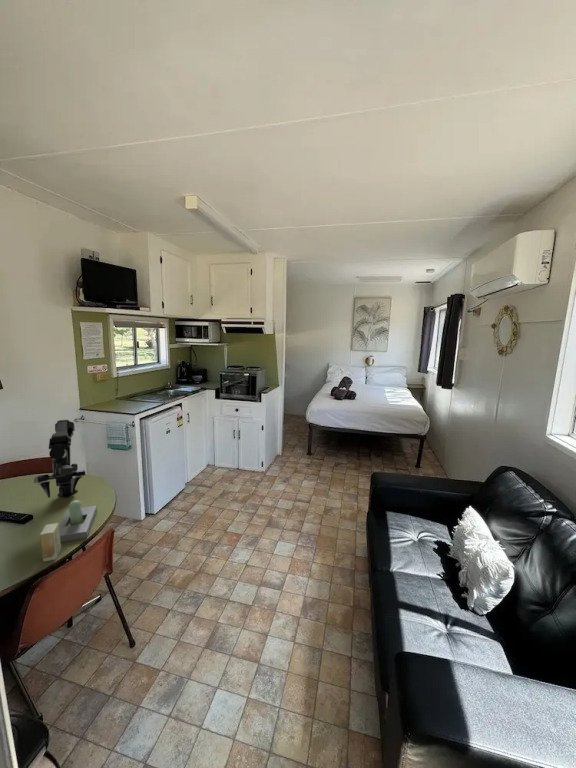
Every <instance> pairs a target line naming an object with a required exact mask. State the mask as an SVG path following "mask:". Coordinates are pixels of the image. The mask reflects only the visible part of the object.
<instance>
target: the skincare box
mask: <svg viewBox="0 0 576 768" xmlns="http://www.w3.org/2000/svg"><path fill="white" fill-rule="evenodd" d="M59 525H60V523H59V522H55V523H49V524H45V525H44V526H43V528H42V530H41V532H40V534H39V535H40V536H39V537H40V545H41V552H42V553H41V554H42V562H43V563H44V562H49V561H56V560H57V559H58V556H59V554H60V552H61V551H62V550H61V549H62V542H60V533H59Z"/></svg>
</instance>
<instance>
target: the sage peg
mask: <svg viewBox="0 0 576 768" xmlns="http://www.w3.org/2000/svg"><path fill="white" fill-rule="evenodd" d="M82 505H83V504H82V502H81V501H80V500H77V499H74V500H72V501H71V502H70V503H69V505H68V509H69V511H70V522H71V525H76V524H83V518H82V508H83V507H82Z"/></svg>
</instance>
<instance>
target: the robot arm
mask: <svg viewBox="0 0 576 768" xmlns="http://www.w3.org/2000/svg"><path fill="white" fill-rule="evenodd" d="M75 427H76V426H75V423H74V422H73V421H70V420H69V419H59V420H57V421H56V423H55V424H54V432H55V433H53V434H52V435H51V438H49V441H48V450H49V457H50V458H51V459H52V465H51V468H52V474H51V475H49V474H42V475H37V476H35V477H34V478H33V484H37V485H38V486H41V488H42V489H43V491H44V493H45V494H46V496H47V498H48V499H50V498H51V489H50V483H51V480H55V485H56V487H58V493H57V496H60V497H64V498H69V497H71V496H72V495H74V494H76V493H78V489H76V487H77V485H78V482H79V481H80V479H82V478H83V477H84V476H86V470H84V469H79V470H78V468H79V467H78V463H71V445H72V437H73V436H74V432H75V431H76V428H75Z"/></svg>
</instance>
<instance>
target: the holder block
mask: <svg viewBox="0 0 576 768" xmlns="http://www.w3.org/2000/svg"><path fill="white" fill-rule="evenodd" d="M97 512H98V506H97V505H91V506H85V507H84V506H83V507H82V518H83V524H76V525H71V522H70V511H69V508H68V509H66V511H65V513H64V515H63V518H61V521H60V523H59V533H60V543H65V542H69V541H77V540H81V539H88V536H89V534H90V531H91V529H92V526H93V523H94V520H95V518H96V516H97Z"/></svg>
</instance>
